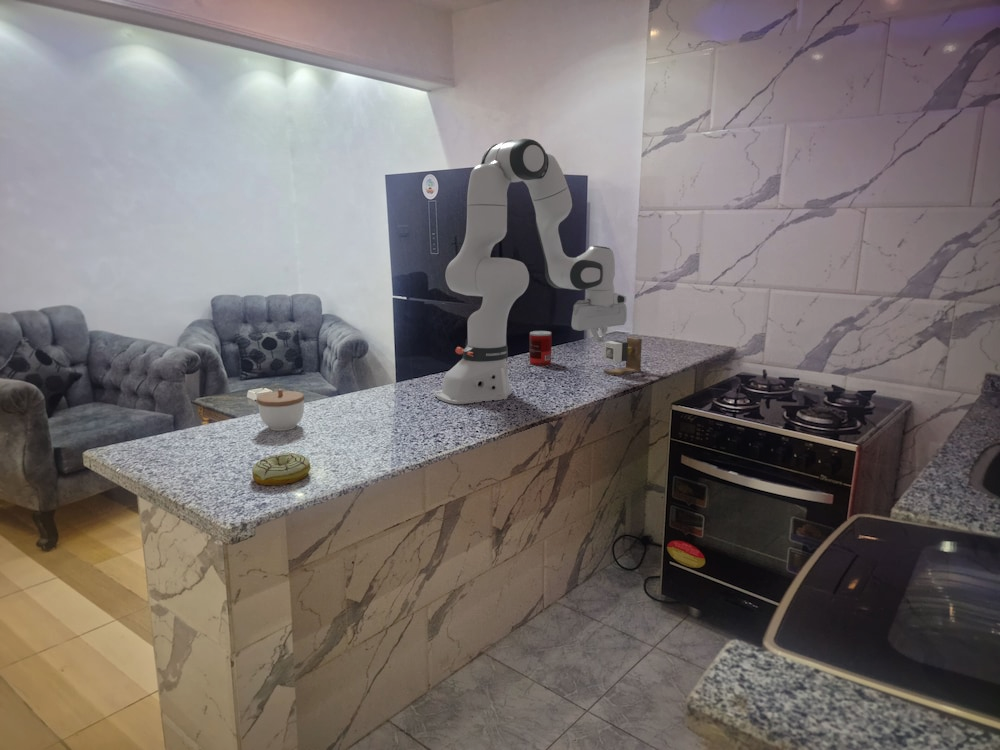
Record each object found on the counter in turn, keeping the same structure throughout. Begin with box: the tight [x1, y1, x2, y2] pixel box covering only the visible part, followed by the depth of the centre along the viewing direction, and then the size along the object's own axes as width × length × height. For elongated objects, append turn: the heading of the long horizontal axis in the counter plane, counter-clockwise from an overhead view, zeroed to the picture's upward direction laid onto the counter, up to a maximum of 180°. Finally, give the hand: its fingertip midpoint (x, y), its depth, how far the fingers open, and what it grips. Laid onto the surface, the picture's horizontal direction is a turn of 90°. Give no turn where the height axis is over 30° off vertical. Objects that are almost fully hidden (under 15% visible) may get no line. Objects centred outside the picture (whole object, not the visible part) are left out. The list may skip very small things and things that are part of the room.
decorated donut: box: [251, 452, 311, 487], centre depth 129 cm, size 10×11×4 cm
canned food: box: [529, 330, 553, 366], centre depth 233 cm, size 8×8×11 cm
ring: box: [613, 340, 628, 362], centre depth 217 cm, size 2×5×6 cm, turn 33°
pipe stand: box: [603, 336, 643, 376], centre depth 218 cm, size 12×5×11 cm, turn 123°
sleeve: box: [603, 340, 623, 363], centre depth 215 cm, size 3×5×6 cm, turn 33°
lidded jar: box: [256, 388, 305, 432], centre depth 160 cm, size 11×11×9 cm
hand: (598, 341), depth 211 cm, fingers closed
